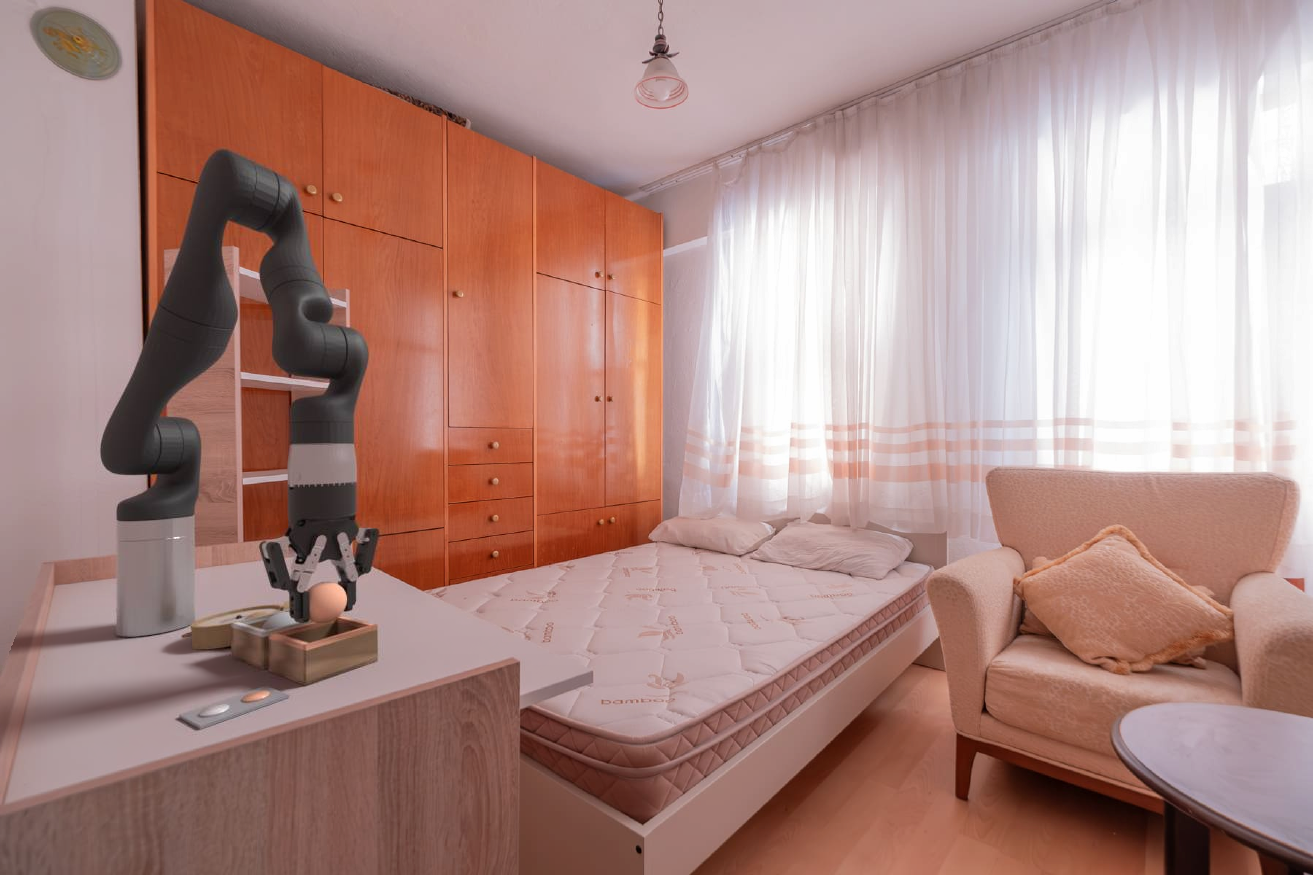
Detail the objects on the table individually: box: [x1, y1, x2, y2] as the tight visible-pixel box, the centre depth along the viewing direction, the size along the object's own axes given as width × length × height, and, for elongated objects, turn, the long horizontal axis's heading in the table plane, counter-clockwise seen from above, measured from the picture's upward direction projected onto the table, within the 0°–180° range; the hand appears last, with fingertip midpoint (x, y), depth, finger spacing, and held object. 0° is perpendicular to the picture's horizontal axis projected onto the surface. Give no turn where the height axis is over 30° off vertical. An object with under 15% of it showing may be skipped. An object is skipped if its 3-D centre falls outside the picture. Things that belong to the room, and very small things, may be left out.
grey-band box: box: [230, 609, 313, 670], centre depth 76 cm, size 9×9×5 cm
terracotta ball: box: [306, 581, 347, 623], centre depth 71 cm, size 5×5×5 cm
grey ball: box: [262, 612, 297, 630], centre depth 76 cm, size 5×5×5 cm
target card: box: [178, 685, 290, 730], centre depth 60 cm, size 5×8×1 cm, turn 149°
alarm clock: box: [180, 600, 289, 650], centre depth 83 cm, size 11×5×15 cm
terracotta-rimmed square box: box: [268, 615, 379, 687], centre depth 71 cm, size 9×9×5 cm
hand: (323, 615), depth 71 cm, fingers closed on terracotta ball, 4 cm apart
